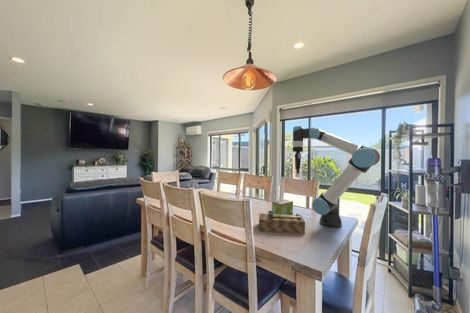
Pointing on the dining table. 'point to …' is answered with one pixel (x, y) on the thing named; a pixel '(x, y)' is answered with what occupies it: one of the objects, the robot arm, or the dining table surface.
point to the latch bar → (285, 216)
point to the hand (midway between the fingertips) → (297, 177)
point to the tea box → (282, 207)
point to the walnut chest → (281, 223)
